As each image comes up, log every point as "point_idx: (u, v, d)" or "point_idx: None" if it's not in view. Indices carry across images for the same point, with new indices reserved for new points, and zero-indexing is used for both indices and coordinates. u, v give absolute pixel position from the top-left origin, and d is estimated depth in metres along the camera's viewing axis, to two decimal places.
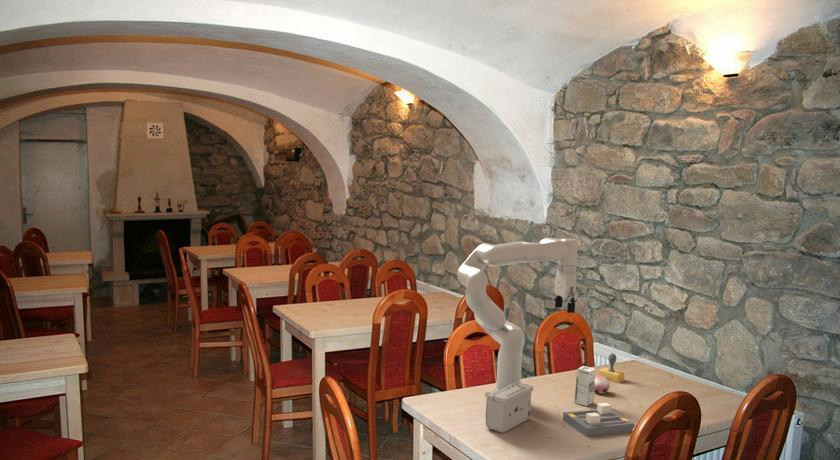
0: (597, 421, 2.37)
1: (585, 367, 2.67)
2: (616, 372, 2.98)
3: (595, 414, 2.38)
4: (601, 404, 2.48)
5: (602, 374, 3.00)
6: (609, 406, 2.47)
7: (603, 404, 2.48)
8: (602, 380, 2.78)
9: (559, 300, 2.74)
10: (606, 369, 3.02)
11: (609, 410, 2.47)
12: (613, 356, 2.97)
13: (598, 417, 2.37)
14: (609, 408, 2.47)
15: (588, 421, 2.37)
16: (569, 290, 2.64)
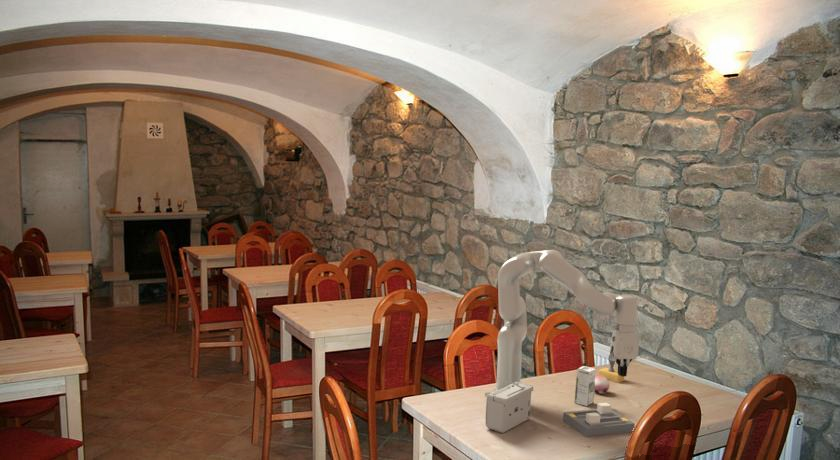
0: (597, 421, 2.37)
1: (585, 367, 2.67)
2: (616, 372, 2.98)
3: (595, 414, 2.38)
4: (601, 404, 2.48)
5: (602, 374, 3.00)
6: (609, 406, 2.47)
7: (603, 404, 2.48)
8: (602, 380, 2.78)
9: None
10: (606, 369, 3.02)
11: (609, 410, 2.47)
12: None
13: (598, 417, 2.37)
14: (609, 408, 2.47)
15: (588, 421, 2.37)
16: None
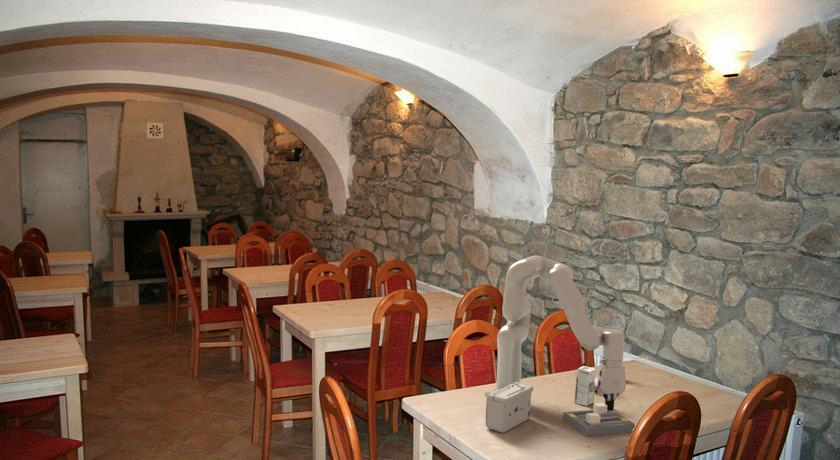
0: (597, 421, 2.37)
1: (585, 367, 2.67)
2: None
3: (595, 414, 2.38)
4: (597, 404, 2.48)
5: None
6: (605, 406, 2.47)
7: (599, 404, 2.48)
8: None
9: None
10: None
11: (605, 410, 2.47)
12: None
13: (598, 417, 2.37)
14: (605, 408, 2.47)
15: (588, 421, 2.37)
16: None
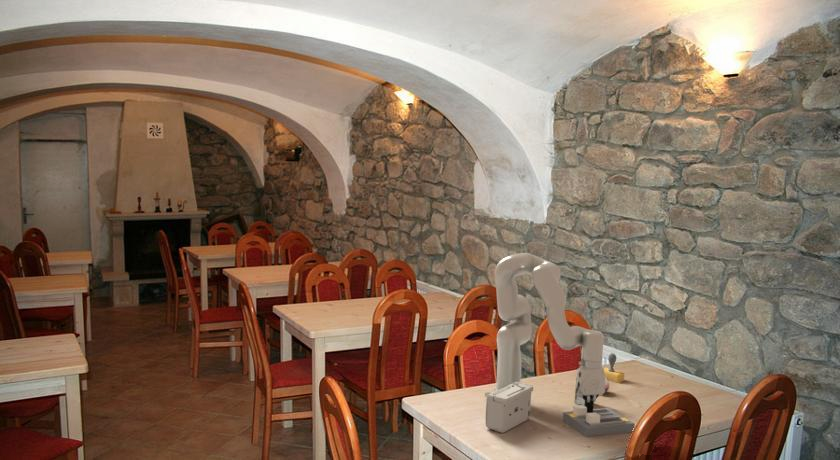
0: (597, 421, 2.37)
1: None
2: (616, 372, 2.98)
3: (595, 414, 2.38)
4: (577, 406, 2.45)
5: None
6: (585, 408, 2.44)
7: (579, 406, 2.45)
8: None
9: None
10: (606, 369, 3.02)
11: (585, 412, 2.44)
12: (613, 356, 2.97)
13: (598, 417, 2.37)
14: (585, 410, 2.44)
15: (588, 421, 2.37)
16: None
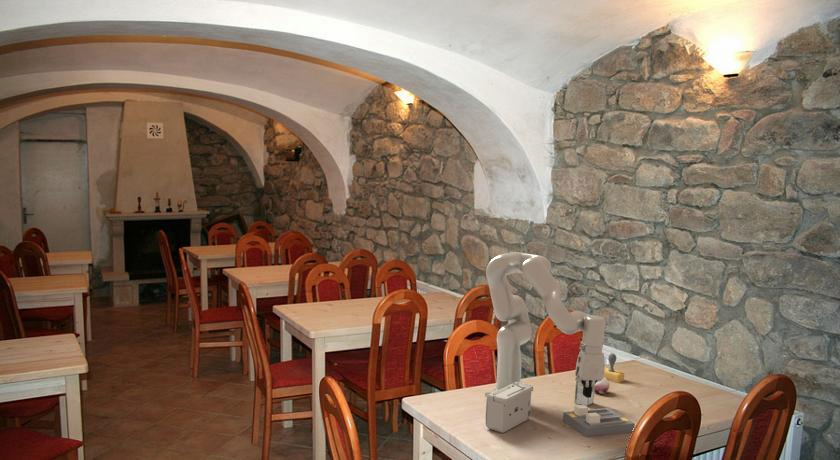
0: (597, 421, 2.37)
1: None
2: (616, 372, 2.98)
3: (595, 414, 2.38)
4: (578, 406, 2.45)
5: None
6: (586, 408, 2.44)
7: (580, 406, 2.45)
8: (602, 380, 2.78)
9: None
10: (606, 369, 3.02)
11: (586, 412, 2.44)
12: (613, 356, 2.97)
13: (598, 417, 2.37)
14: (586, 410, 2.44)
15: (588, 421, 2.37)
16: None
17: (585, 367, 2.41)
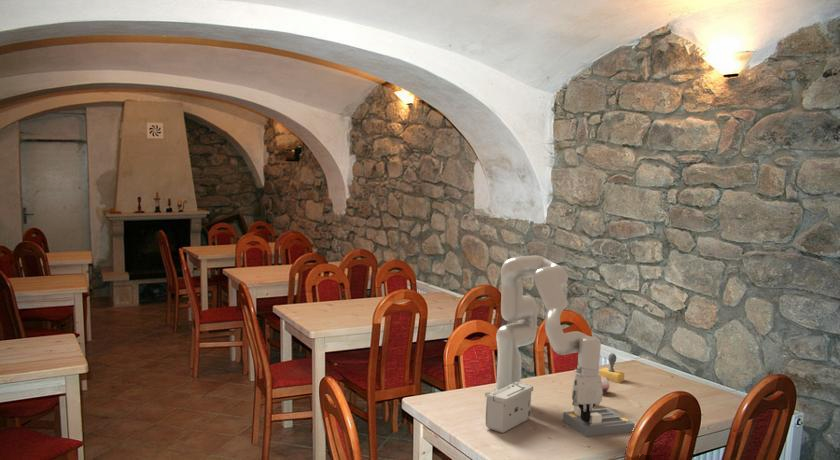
0: (598, 421, 2.37)
1: None
2: (616, 372, 2.98)
3: (596, 414, 2.38)
4: None
5: (602, 374, 3.00)
6: None
7: None
8: (602, 380, 2.78)
9: None
10: (606, 369, 3.02)
11: None
12: (613, 356, 2.97)
13: (599, 417, 2.37)
14: None
15: (589, 421, 2.37)
16: None
17: (582, 390, 2.32)
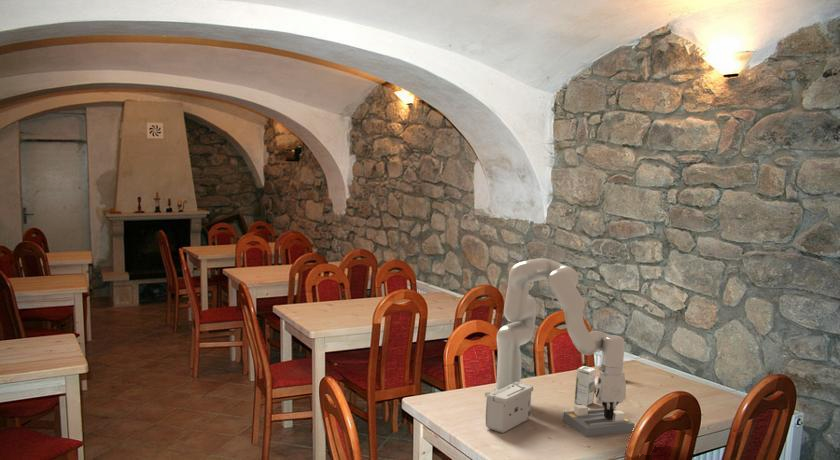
0: (622, 419, 2.40)
1: (585, 367, 2.67)
2: None
3: (619, 412, 2.41)
4: (578, 406, 2.45)
5: None
6: (586, 408, 2.44)
7: (580, 406, 2.45)
8: None
9: None
10: None
11: (586, 412, 2.44)
12: None
13: (622, 415, 2.40)
14: (586, 410, 2.44)
15: (613, 419, 2.40)
16: None
17: (606, 389, 2.35)
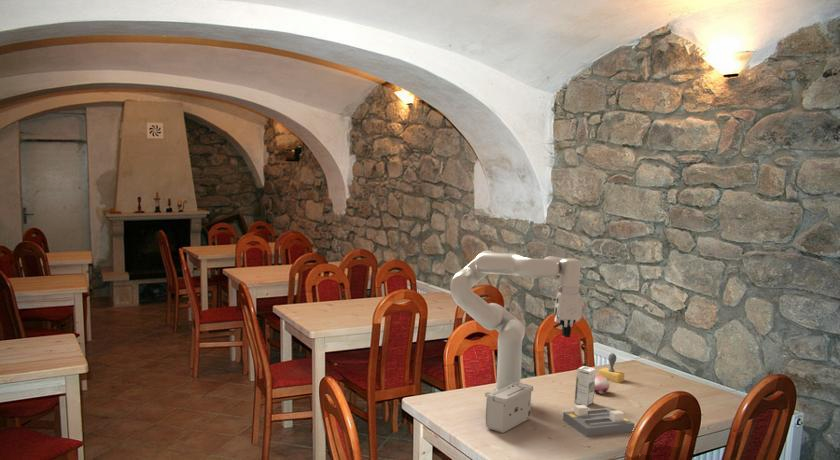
0: (621, 419, 2.40)
1: (585, 367, 2.67)
2: (616, 372, 2.98)
3: (619, 412, 2.41)
4: (578, 406, 2.45)
5: (602, 374, 3.00)
6: (586, 408, 2.44)
7: (580, 406, 2.45)
8: (601, 380, 2.78)
9: None
10: (606, 369, 3.02)
11: (586, 412, 2.44)
12: (613, 356, 2.97)
13: (622, 415, 2.40)
14: (586, 410, 2.44)
15: (612, 419, 2.40)
16: None
17: (563, 307, 2.53)
